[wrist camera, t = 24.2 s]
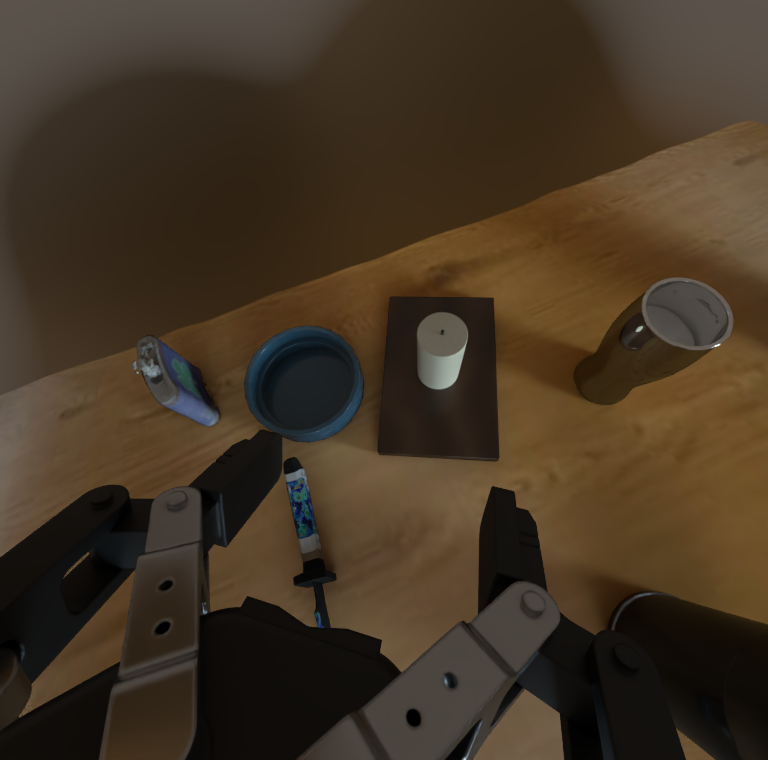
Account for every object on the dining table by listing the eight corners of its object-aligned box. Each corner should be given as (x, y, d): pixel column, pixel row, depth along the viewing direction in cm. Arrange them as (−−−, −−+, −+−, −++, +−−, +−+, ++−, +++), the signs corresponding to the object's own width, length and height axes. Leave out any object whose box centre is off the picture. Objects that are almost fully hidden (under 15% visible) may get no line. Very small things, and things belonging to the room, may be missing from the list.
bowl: (368, 342, 48) (364, 326, 44) (358, 445, 43) (352, 438, 39) (268, 339, 49) (256, 324, 45) (248, 439, 44) (233, 431, 41)
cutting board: (491, 304, 48) (493, 297, 47) (496, 461, 41) (499, 459, 40) (390, 302, 50) (389, 296, 48) (378, 454, 42) (377, 452, 41)
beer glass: (578, 412, 42) (656, 357, 28) (562, 356, 45) (627, 280, 31) (641, 405, 42) (753, 347, 28) (622, 349, 44) (715, 269, 30)
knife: (291, 461, 42) (277, 458, 37) (318, 455, 42) (307, 452, 37) (337, 802, 34) (325, 849, 29) (370, 796, 34) (363, 842, 29)
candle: (458, 352, 44) (468, 309, 36) (458, 390, 43) (469, 355, 34) (418, 351, 45) (417, 308, 36) (416, 388, 43) (415, 353, 34)
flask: (224, 420, 46) (169, 391, 36) (202, 433, 45) (141, 407, 35) (197, 362, 49) (140, 321, 39) (177, 374, 49) (114, 335, 39)
